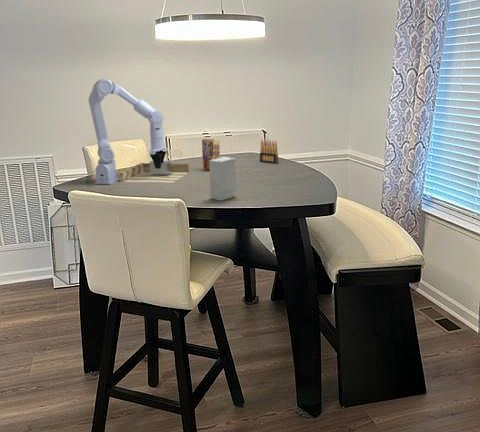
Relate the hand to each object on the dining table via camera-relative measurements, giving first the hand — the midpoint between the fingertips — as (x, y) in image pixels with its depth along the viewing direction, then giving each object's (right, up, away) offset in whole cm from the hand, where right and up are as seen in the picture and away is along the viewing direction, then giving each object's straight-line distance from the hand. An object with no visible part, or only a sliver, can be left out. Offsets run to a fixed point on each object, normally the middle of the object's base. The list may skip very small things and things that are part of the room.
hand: (159, 167), depth 232 cm
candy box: (+23, -1, +12) cm, 26 cm away
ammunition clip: (+52, +5, +31) cm, 61 cm away
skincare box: (+31, -15, -40) cm, 53 cm away
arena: (-1, -5, -2) cm, 5 cm away
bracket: (0, -2, +2) cm, 3 cm away
